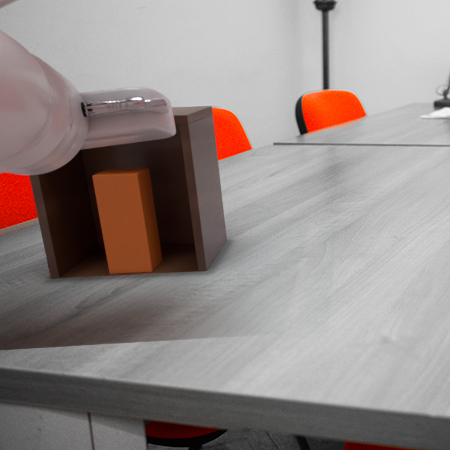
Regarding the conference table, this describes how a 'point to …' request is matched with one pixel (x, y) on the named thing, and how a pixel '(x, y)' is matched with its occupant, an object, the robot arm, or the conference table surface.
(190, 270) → the cubby
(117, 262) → the block
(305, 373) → the conference table surface
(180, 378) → the conference table surface
